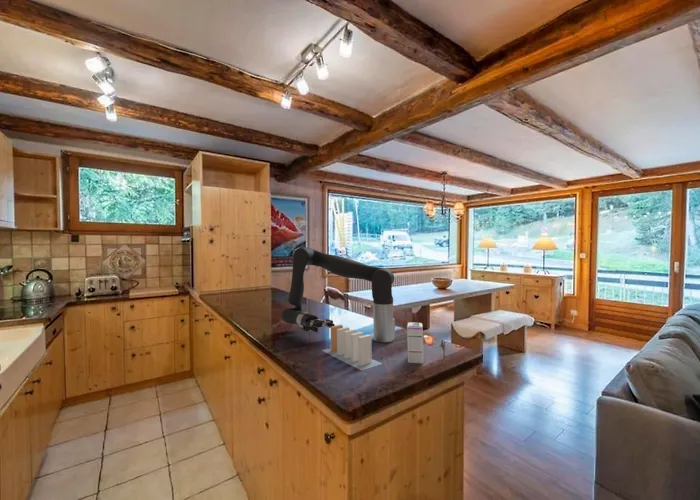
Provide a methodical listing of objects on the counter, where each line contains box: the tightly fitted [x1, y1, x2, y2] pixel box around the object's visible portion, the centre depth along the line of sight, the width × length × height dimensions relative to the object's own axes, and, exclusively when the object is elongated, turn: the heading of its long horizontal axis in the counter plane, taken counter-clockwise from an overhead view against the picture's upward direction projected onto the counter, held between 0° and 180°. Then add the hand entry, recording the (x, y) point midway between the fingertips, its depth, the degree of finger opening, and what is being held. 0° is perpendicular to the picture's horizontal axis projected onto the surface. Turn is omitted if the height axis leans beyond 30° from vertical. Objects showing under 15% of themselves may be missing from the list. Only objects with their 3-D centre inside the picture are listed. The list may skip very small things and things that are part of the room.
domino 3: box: [344, 328, 357, 359], centre depth 118 cm, size 5×2×10 cm, turn 127°
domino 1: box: [330, 324, 344, 352], centre depth 125 cm, size 5×2×10 cm, turn 128°
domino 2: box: [337, 326, 350, 355], centre depth 121 cm, size 5×2×10 cm, turn 127°
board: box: [321, 347, 383, 371], centre depth 118 cm, size 10×26×1 cm, turn 37°
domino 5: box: [358, 334, 373, 366], centre depth 110 cm, size 5×2×10 cm, turn 127°
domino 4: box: [351, 331, 365, 362], centre depth 114 cm, size 5×2×10 cm, turn 127°
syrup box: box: [406, 321, 425, 364], centre depth 113 cm, size 6×6×14 cm
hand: (325, 328), depth 132 cm, fingers open, 8 cm apart
